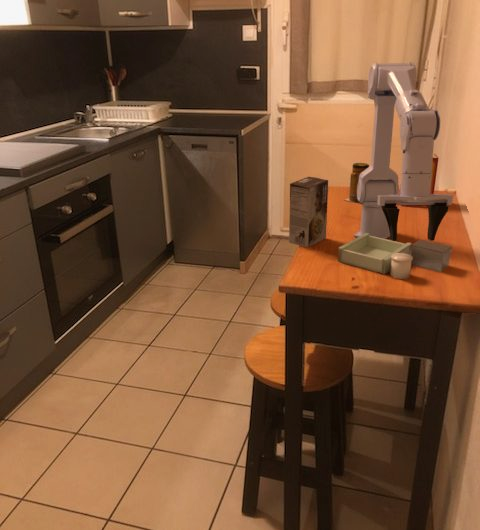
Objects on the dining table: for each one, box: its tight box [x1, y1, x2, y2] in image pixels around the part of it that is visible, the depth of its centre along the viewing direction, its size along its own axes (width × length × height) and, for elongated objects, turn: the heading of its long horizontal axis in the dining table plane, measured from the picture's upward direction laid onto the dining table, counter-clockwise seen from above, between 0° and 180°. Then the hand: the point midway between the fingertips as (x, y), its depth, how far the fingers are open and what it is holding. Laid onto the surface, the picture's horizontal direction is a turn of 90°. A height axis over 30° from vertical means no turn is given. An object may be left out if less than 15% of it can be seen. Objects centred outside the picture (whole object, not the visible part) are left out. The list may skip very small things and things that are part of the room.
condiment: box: [343, 162, 370, 204], centre depth 168 cm, size 7×8×12 cm
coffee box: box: [288, 176, 329, 248], centre depth 132 cm, size 9×6×16 cm
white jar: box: [389, 253, 413, 280], centre depth 113 cm, size 5×5×4 cm
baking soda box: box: [399, 153, 439, 207], centre depth 162 cm, size 10×6×16 cm
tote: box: [337, 233, 413, 275], centre depth 122 cm, size 13×12×4 cm
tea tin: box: [410, 239, 453, 273], centre depth 118 cm, size 5×8×5 cm, turn 49°
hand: (412, 240), depth 105 cm, fingers open, 7 cm apart
